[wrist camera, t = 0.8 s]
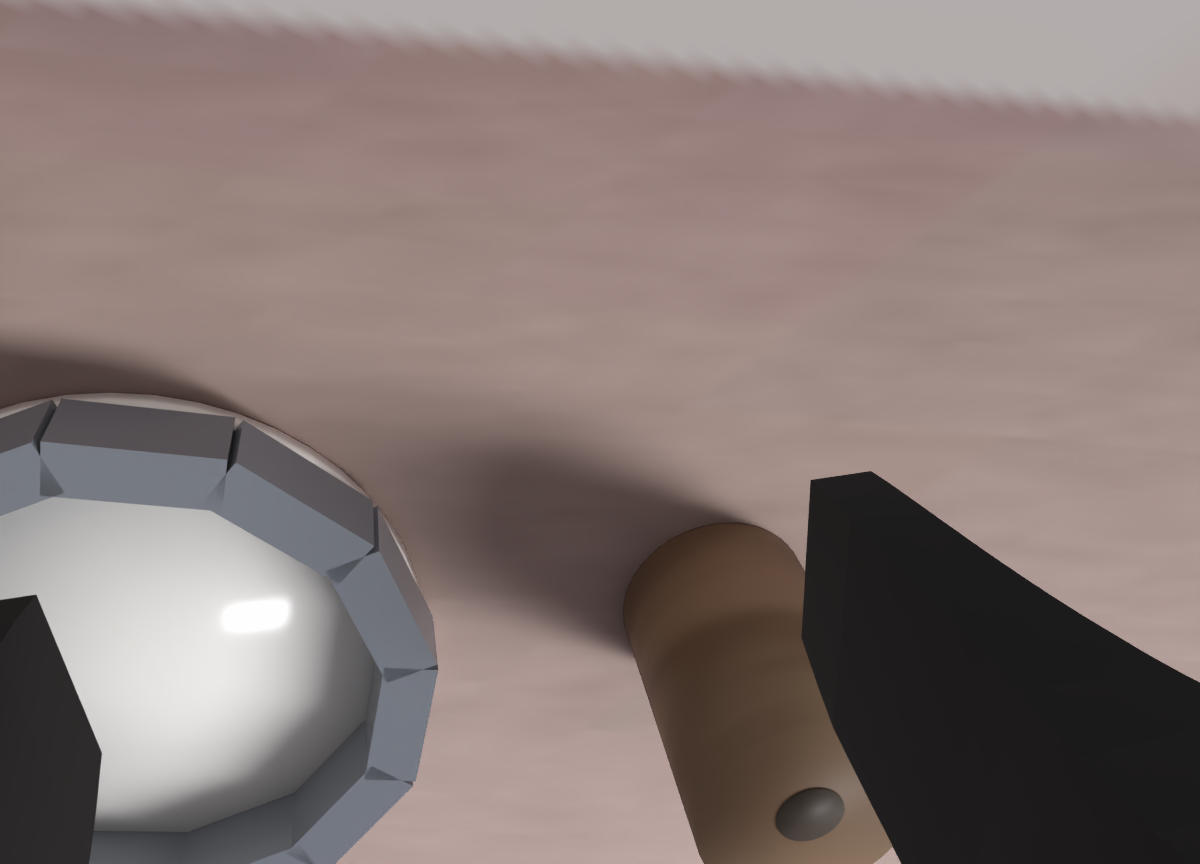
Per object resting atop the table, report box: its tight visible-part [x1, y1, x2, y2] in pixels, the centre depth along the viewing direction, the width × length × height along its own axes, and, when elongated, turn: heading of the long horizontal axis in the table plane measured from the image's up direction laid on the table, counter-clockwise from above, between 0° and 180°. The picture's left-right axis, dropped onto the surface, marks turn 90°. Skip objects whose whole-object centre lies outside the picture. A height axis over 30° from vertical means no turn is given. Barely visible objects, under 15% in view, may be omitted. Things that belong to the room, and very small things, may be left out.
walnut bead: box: [623, 523, 893, 864], centre depth 22 cm, size 4×4×6 cm
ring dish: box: [0, 393, 438, 864], centre depth 22 cm, size 11×11×2 cm
